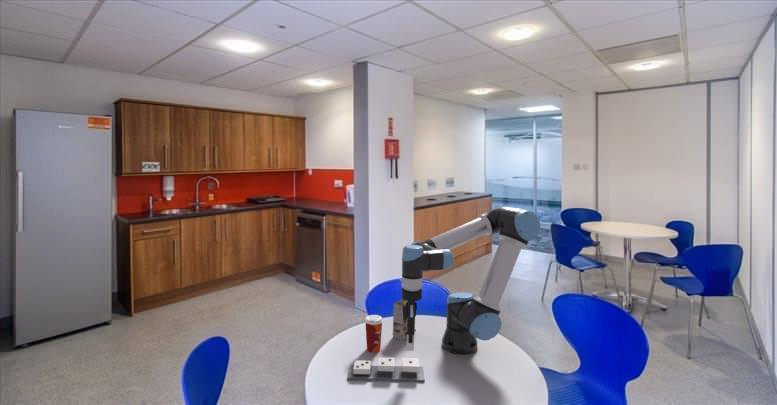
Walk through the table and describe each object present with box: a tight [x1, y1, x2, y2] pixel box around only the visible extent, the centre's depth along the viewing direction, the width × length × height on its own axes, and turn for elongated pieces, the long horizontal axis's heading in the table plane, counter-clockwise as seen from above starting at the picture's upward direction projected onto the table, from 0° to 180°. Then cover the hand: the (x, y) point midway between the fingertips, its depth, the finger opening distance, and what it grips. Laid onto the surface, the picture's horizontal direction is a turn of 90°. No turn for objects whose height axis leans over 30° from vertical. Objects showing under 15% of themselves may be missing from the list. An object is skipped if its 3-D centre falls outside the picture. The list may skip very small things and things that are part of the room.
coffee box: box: [392, 298, 416, 341], centre depth 176 cm, size 9×6×16 cm
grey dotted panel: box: [347, 364, 426, 383], centre depth 144 cm, size 28×9×1 cm, turn 88°
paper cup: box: [364, 314, 384, 354], centre depth 162 cm, size 8×8×14 cm
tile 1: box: [401, 357, 420, 372], centre depth 143 cm, size 6×6×2 cm
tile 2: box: [377, 356, 396, 371], centre depth 144 cm, size 6×6×2 cm
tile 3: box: [353, 359, 372, 374], centre depth 144 cm, size 6×6×2 cm
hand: (410, 349), depth 143 cm, fingers closed
